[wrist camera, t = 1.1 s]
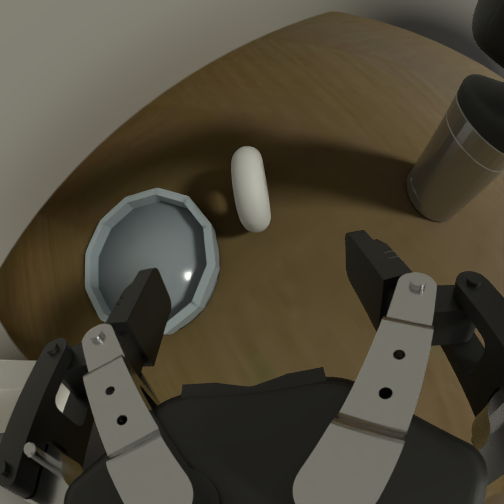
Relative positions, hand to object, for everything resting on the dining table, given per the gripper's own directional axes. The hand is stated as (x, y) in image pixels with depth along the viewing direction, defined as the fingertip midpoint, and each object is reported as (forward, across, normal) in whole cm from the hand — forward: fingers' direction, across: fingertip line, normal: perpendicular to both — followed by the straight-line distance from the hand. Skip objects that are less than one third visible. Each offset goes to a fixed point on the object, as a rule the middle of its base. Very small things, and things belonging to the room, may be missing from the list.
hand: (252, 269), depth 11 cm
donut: (+25, 0, +6) cm, 25 cm away
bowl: (+21, +15, +9) cm, 27 cm away
